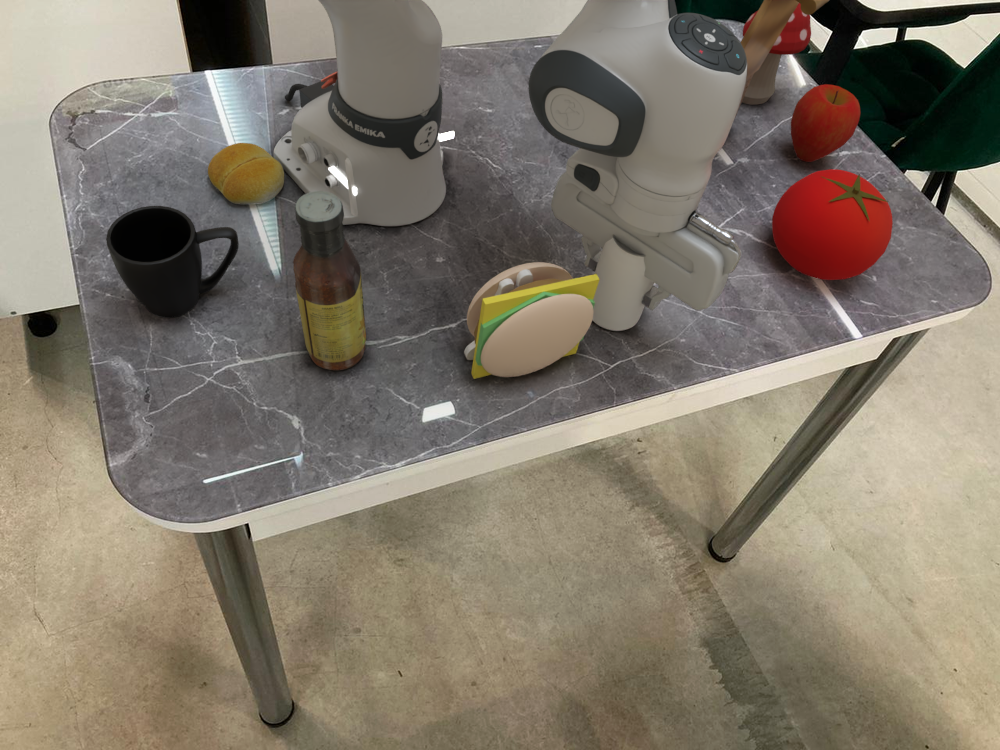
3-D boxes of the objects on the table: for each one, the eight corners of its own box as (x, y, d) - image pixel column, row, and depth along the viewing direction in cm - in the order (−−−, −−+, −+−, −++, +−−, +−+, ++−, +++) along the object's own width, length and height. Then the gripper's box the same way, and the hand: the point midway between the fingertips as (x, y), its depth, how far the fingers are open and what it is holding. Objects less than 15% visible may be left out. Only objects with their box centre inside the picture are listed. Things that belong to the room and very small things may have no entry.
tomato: (765, 209, 105) (802, 137, 96) (866, 242, 104) (914, 172, 95) (751, 274, 98) (790, 203, 89) (860, 310, 97) (912, 241, 87)
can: (595, 336, 89) (621, 262, 79) (577, 293, 93) (599, 217, 83) (647, 329, 91) (679, 255, 81) (628, 287, 94) (656, 211, 85)
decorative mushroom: (763, 74, 124) (804, -20, 112) (792, 108, 120) (838, 14, 108) (708, 81, 122) (744, -15, 109) (736, 116, 117) (776, 20, 105)
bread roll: (241, 218, 93) (236, 191, 90) (200, 176, 97) (193, 149, 93) (300, 190, 97) (297, 164, 94) (259, 150, 101) (254, 124, 97)
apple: (831, 144, 116) (867, 78, 107) (837, 182, 111) (876, 116, 102) (773, 133, 116) (805, 66, 107) (777, 170, 111) (811, 104, 102)
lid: (777, -24, 85) (813, 1, 84) (828, -60, 92) (863, -37, 91) (705, 104, 100) (735, 127, 99) (753, 66, 106) (782, 87, 105)
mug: (250, 319, 85) (237, 257, 77) (130, 332, 82) (103, 268, 74) (245, 263, 89) (233, 199, 82) (131, 273, 87) (106, 208, 79)
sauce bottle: (378, 351, 84) (377, 210, 68) (333, 384, 81) (320, 245, 65) (336, 316, 87) (325, 172, 71) (291, 347, 83) (269, 204, 67)
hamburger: (554, 312, 91) (574, 236, 81) (584, 369, 86) (609, 296, 77) (454, 335, 87) (463, 258, 77) (481, 395, 83) (494, 322, 73)
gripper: (763, 228, 75) (714, 321, 86) (591, 124, 82) (566, 224, 93) (730, 262, 72) (684, 354, 83) (554, 151, 78) (533, 250, 89)
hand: (621, 284), depth 88 cm, fingers closed on can, 6 cm apart
